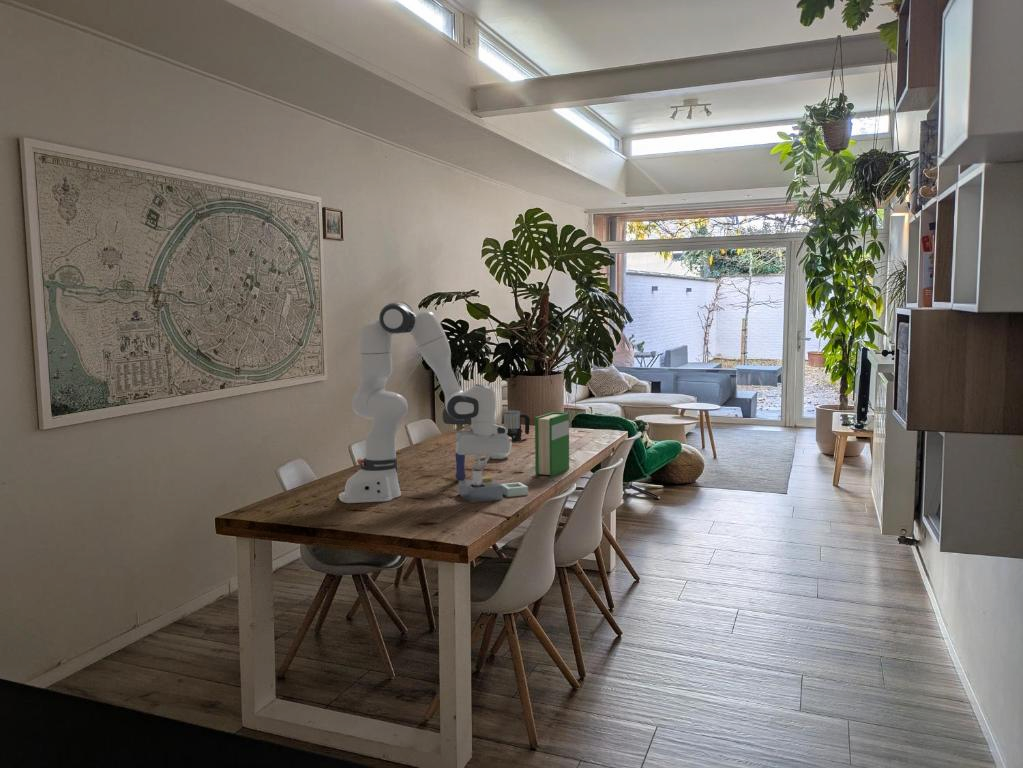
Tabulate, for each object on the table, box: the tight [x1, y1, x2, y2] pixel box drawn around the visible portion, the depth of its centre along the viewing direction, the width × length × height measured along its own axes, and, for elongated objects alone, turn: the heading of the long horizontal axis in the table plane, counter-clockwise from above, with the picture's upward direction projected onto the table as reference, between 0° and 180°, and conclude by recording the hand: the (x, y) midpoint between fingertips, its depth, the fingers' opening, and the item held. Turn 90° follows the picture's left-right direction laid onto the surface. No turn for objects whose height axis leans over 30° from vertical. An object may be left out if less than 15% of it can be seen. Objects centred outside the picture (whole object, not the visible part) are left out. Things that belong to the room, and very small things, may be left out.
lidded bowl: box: [490, 436, 513, 460], centre depth 353 cm, size 13×13×11 cm
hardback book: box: [534, 411, 570, 478], centre depth 320 cm, size 18×7×24 cm, turn 153°
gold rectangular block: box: [482, 475, 493, 482], centre depth 285 cm, size 4×4×6 cm
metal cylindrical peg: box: [472, 464, 483, 487], centre depth 276 cm, size 4×4×12 cm
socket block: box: [458, 479, 504, 504], centre depth 280 cm, size 12×14×5 cm
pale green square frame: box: [499, 481, 529, 498], centre depth 285 cm, size 8×8×3 cm
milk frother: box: [502, 410, 531, 442], centre depth 405 cm, size 14×16×15 cm
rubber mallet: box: [442, 407, 471, 482], centre depth 305 cm, size 12×8×30 cm, turn 77°
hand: (482, 465), depth 284 cm, fingers closed
